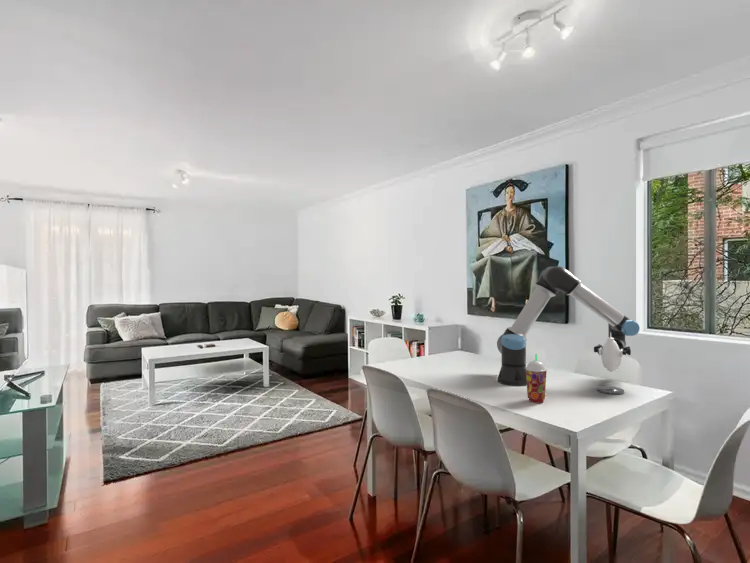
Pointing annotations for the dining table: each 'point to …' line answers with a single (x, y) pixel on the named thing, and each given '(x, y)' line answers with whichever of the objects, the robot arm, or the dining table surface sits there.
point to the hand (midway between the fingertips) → (610, 353)
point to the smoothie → (536, 381)
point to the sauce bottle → (611, 355)
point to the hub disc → (610, 390)
